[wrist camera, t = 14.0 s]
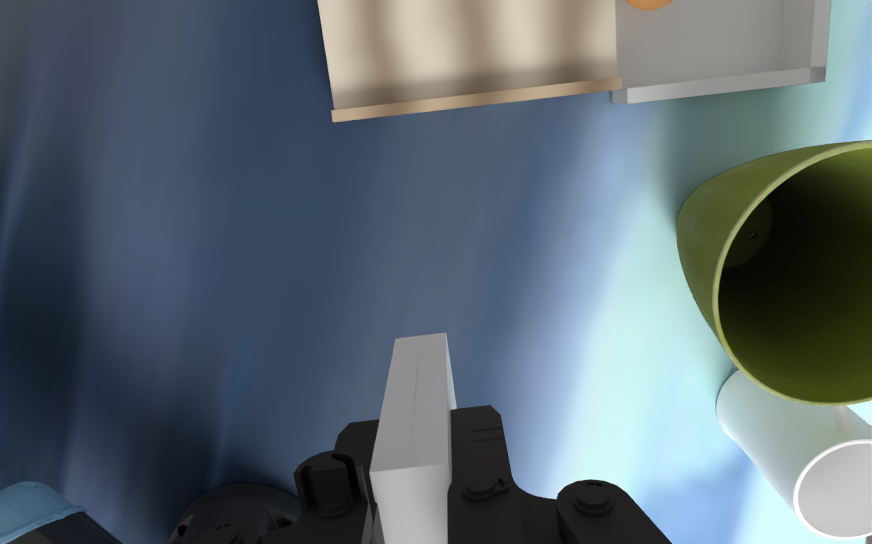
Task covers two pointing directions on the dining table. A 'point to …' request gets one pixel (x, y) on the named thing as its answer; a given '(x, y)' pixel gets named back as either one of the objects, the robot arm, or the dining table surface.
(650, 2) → the ball
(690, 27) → the tray
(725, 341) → the flower pot
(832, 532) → the mug
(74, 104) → the dining table surface
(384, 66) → the deck
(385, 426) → the robot arm
